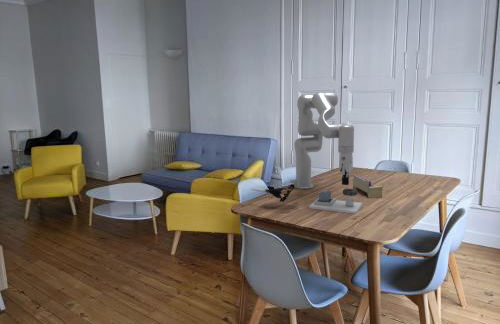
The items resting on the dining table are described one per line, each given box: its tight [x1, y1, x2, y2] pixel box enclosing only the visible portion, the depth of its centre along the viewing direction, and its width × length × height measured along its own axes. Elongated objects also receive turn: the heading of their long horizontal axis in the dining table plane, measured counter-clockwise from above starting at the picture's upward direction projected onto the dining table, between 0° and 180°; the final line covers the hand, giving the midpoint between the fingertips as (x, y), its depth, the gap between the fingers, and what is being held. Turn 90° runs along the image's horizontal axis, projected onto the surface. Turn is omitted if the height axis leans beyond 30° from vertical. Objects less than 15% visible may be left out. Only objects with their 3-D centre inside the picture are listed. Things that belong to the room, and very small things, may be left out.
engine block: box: [318, 189, 332, 203], centre depth 204 cm, size 5×6×7 cm
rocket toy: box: [250, 184, 295, 202], centre depth 205 cm, size 14×6×23 cm
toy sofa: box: [352, 173, 383, 199], centre depth 227 cm, size 21×9×10 cm, turn 11°
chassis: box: [308, 196, 363, 214], centre depth 202 cm, size 24×16×6 cm, turn 63°
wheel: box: [342, 188, 358, 197], centre depth 198 cm, size 7×7×2 cm
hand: (345, 184), depth 198 cm, fingers closed
